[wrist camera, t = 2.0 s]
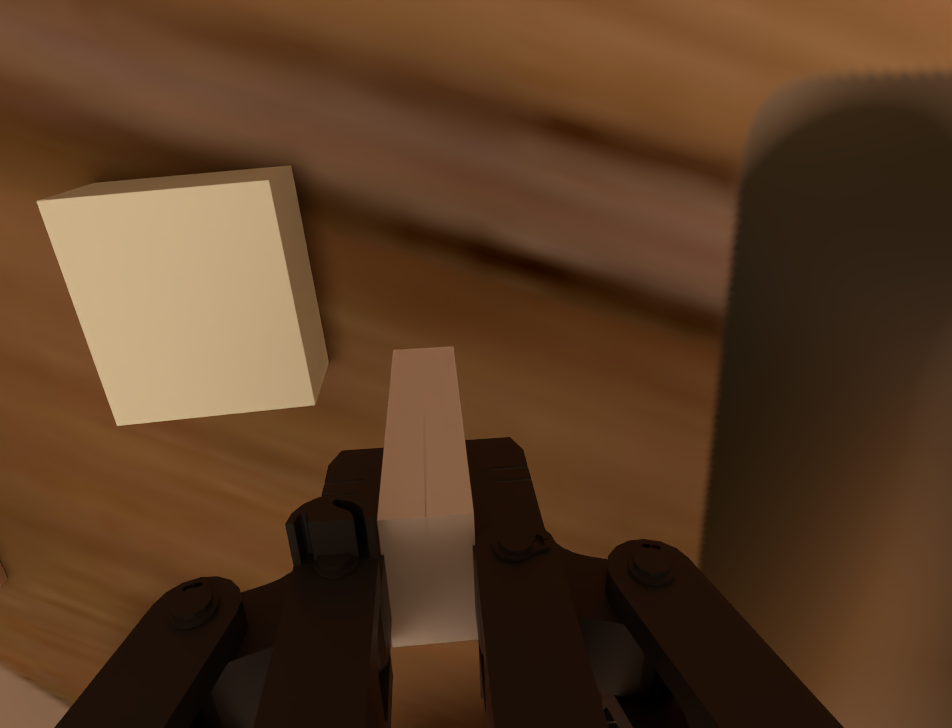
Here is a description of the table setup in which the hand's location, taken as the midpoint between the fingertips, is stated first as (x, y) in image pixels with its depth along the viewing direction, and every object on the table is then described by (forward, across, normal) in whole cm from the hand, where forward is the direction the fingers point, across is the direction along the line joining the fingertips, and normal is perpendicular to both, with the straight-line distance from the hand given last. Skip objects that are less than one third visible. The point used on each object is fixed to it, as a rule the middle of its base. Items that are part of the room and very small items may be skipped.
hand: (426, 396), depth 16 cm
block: (+14, +9, 0) cm, 16 cm away
